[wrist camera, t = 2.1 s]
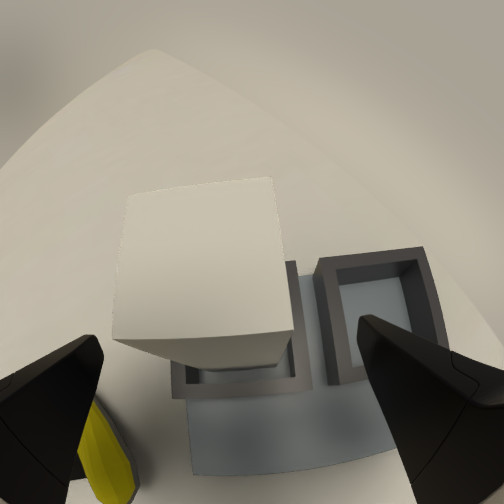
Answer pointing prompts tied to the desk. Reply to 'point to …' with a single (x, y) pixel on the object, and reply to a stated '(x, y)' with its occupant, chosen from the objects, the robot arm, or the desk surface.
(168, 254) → the plug
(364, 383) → the board
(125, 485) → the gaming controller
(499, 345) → the desk surface
